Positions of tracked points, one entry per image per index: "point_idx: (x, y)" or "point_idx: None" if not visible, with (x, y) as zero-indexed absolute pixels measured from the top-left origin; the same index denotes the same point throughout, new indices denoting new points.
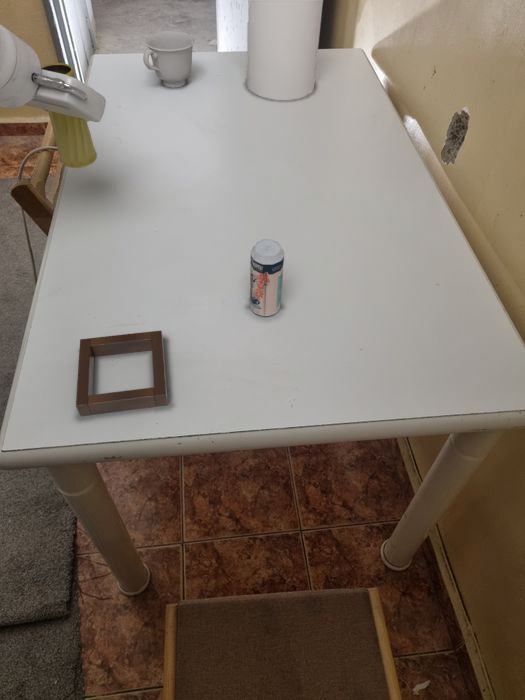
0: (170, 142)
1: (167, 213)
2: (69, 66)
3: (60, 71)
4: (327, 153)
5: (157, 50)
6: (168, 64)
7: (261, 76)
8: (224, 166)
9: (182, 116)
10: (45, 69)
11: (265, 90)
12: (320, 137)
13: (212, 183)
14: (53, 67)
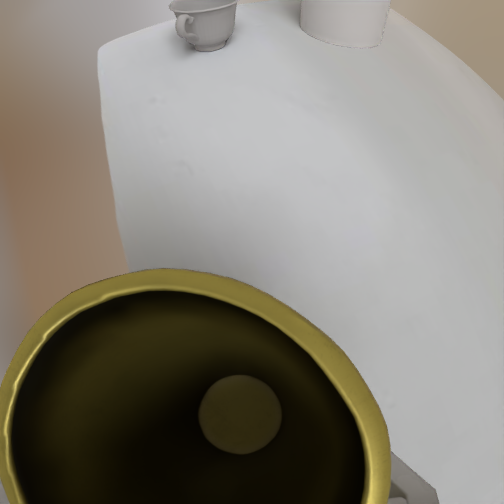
0: (276, 146)
1: (386, 347)
2: (272, 321)
3: (137, 320)
4: (478, 131)
5: (195, 13)
6: (210, 25)
7: (338, 24)
8: (397, 182)
9: (258, 89)
10: (29, 393)
11: (343, 38)
12: (451, 103)
13: (409, 232)
14: (70, 327)
